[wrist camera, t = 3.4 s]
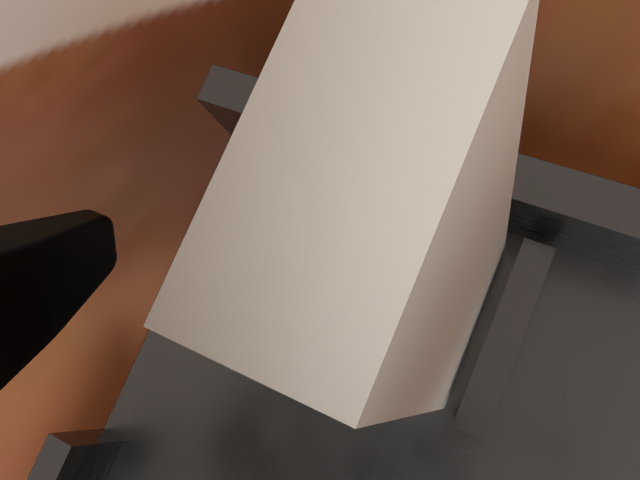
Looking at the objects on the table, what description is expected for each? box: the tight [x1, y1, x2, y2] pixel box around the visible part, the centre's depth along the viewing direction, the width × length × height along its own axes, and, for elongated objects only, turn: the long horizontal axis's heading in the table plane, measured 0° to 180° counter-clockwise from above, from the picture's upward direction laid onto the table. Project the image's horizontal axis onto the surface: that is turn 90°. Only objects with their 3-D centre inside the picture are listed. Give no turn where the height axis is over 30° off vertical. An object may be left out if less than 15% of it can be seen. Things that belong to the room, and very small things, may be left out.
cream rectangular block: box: [143, 0, 539, 429], centre depth 11 cm, size 4×2×12 cm, turn 156°
